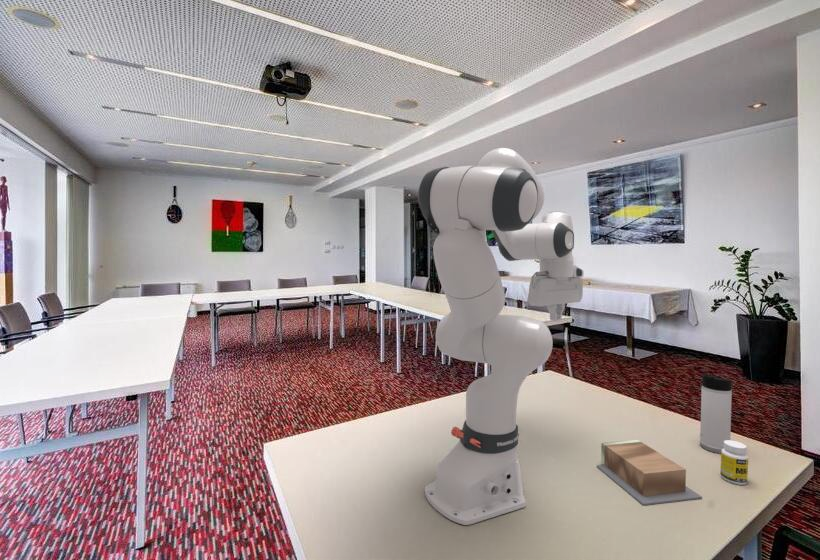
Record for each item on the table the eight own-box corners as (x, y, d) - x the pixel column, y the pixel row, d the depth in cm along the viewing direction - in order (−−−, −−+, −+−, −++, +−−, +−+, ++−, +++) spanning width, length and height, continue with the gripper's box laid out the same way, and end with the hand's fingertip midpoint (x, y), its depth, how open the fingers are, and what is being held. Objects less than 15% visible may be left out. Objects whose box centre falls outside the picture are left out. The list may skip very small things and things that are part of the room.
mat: (596, 466, 92) (596, 465, 92) (647, 461, 95) (647, 460, 95) (643, 505, 78) (643, 503, 78) (702, 498, 80) (702, 496, 80)
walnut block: (601, 442, 94) (644, 473, 80) (637, 439, 95) (685, 469, 81) (601, 462, 94) (644, 496, 80) (636, 458, 95) (685, 491, 82)
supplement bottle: (737, 487, 84) (738, 450, 83) (715, 475, 88) (716, 440, 88) (752, 483, 85) (754, 447, 85) (730, 472, 90) (731, 437, 89)
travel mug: (693, 445, 103) (695, 373, 102) (710, 441, 105) (712, 370, 104) (718, 456, 97) (720, 379, 96) (735, 452, 99) (738, 377, 98)
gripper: (542, 271, 97) (541, 325, 98) (587, 270, 109) (586, 318, 109) (522, 271, 103) (522, 322, 103) (567, 270, 114) (567, 315, 114)
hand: (555, 320), depth 106 cm, fingers closed
